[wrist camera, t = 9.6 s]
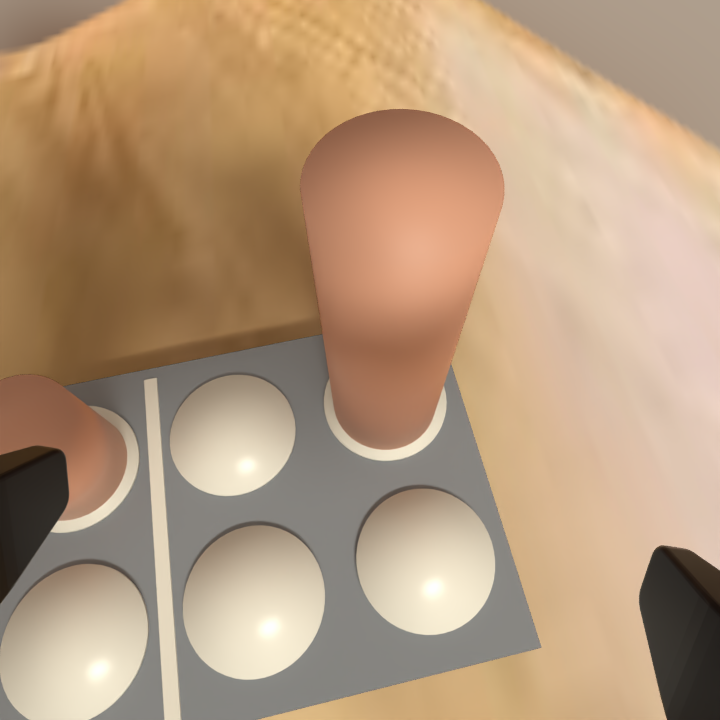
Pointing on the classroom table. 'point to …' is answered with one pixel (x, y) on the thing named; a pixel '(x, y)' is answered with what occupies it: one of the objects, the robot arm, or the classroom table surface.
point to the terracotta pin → (396, 261)
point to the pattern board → (246, 547)
